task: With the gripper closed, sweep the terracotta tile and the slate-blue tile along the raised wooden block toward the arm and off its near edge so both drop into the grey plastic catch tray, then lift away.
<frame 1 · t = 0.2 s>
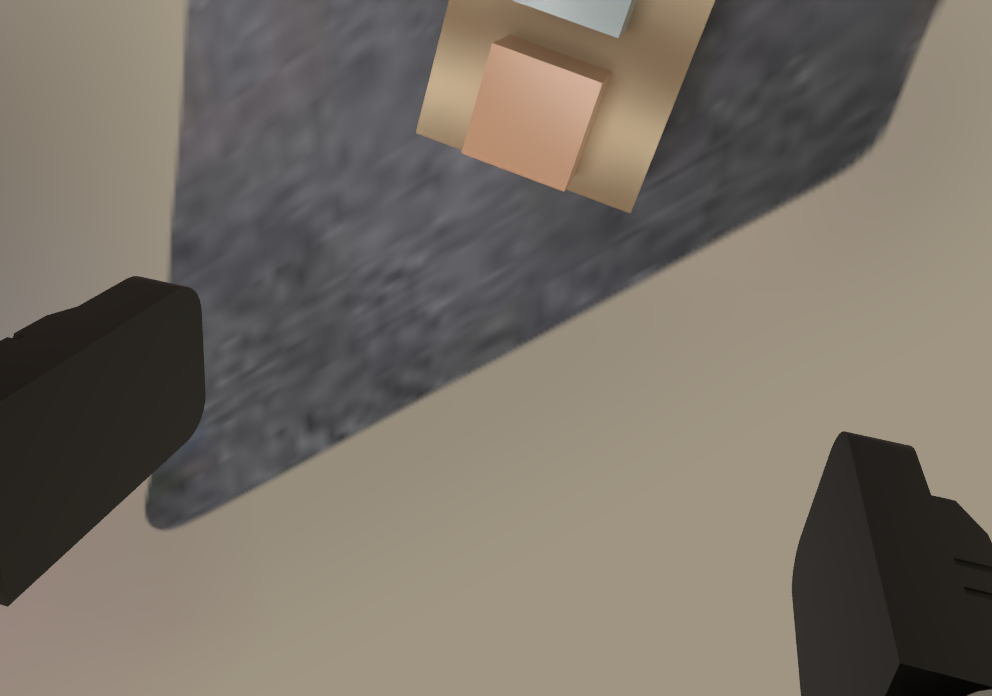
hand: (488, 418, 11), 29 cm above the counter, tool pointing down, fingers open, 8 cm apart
terracotta tile: (543, 106, 32), point 5 cm above the counter, touching wooden block
wooden block: (594, 4, 35), on the counter
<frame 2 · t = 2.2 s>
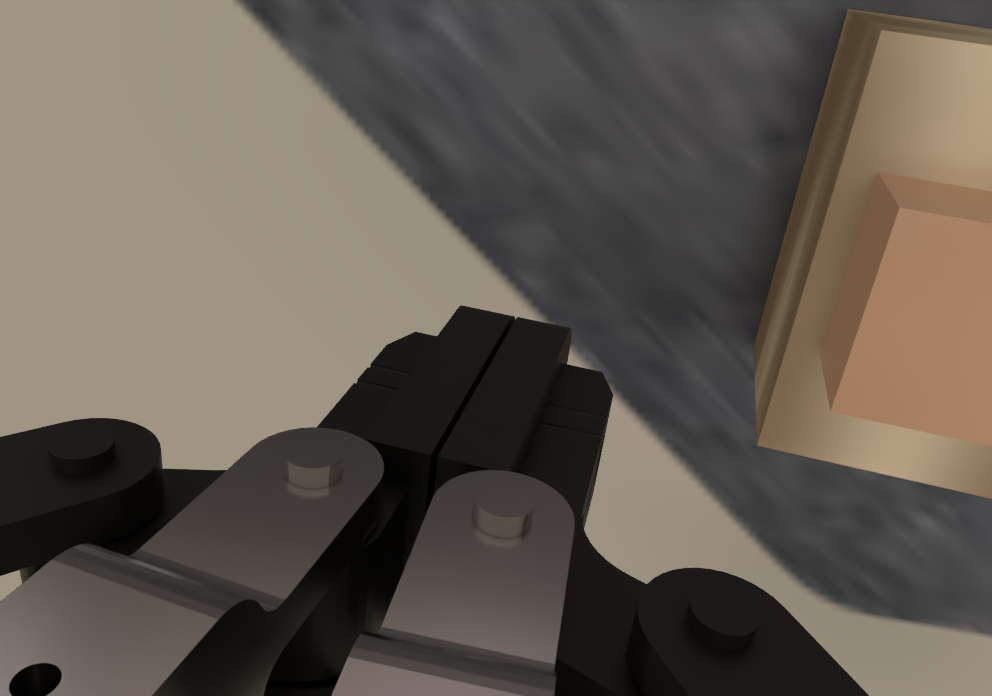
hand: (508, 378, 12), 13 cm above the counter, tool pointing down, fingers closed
terracotta tile: (951, 288, 17), point 5 cm above the counter, touching wooden block
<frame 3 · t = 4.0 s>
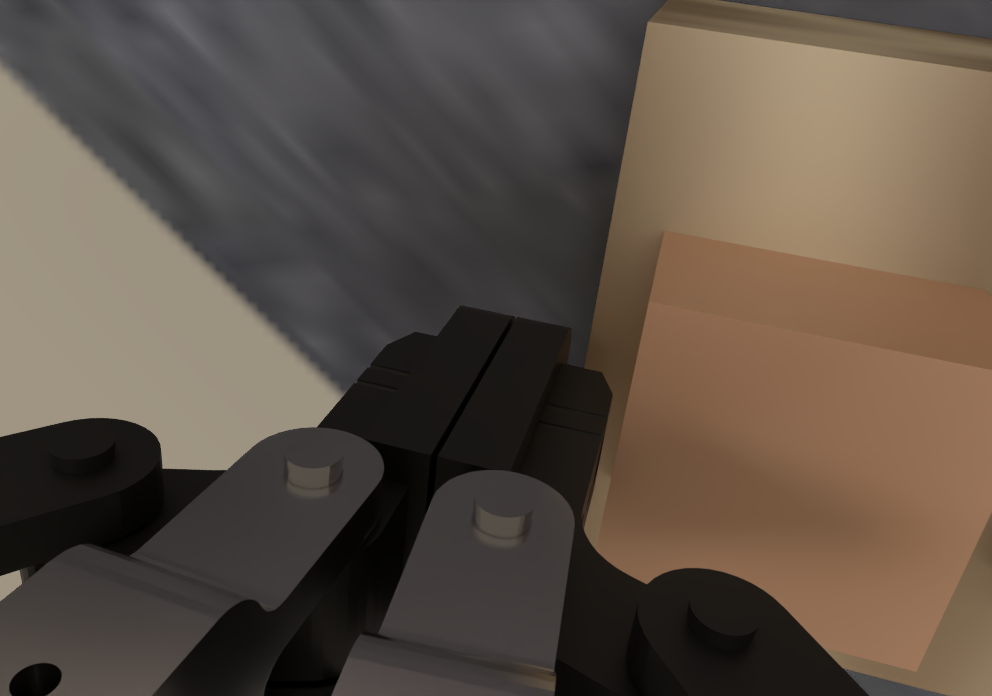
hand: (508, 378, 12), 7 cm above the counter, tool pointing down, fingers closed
terracotta tile: (779, 394, 12), point 6 cm above the counter, touching gripper
wooden block: (942, 295, 16), on the counter
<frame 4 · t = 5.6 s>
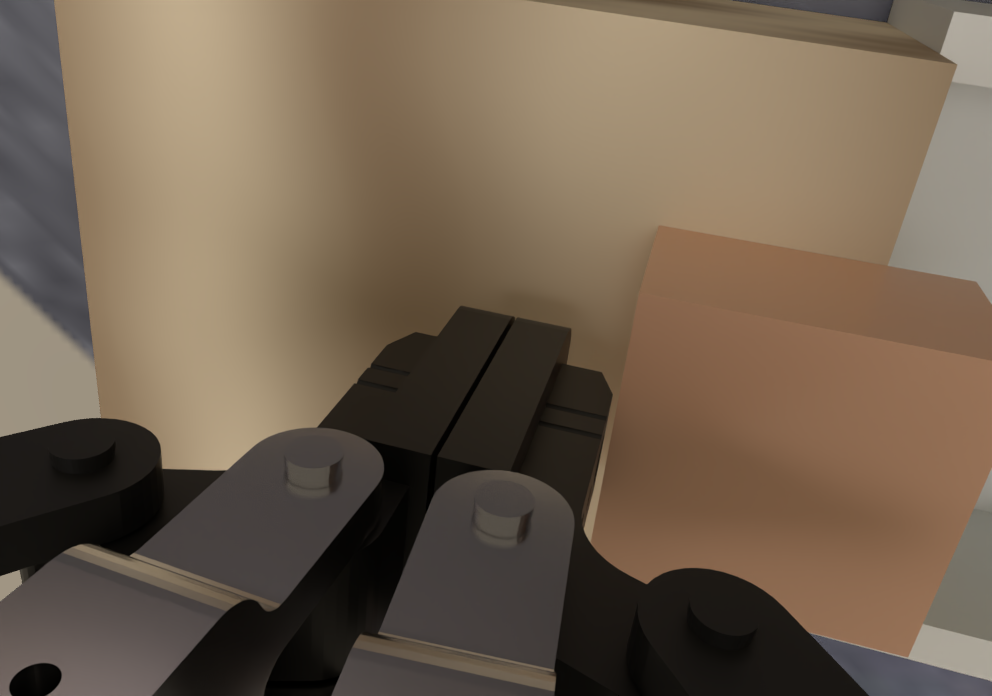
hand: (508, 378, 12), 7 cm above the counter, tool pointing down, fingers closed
terracotta tile: (774, 385, 12), point 6 cm above the counter, touching gripper
wooden block: (514, 209, 18), on the counter
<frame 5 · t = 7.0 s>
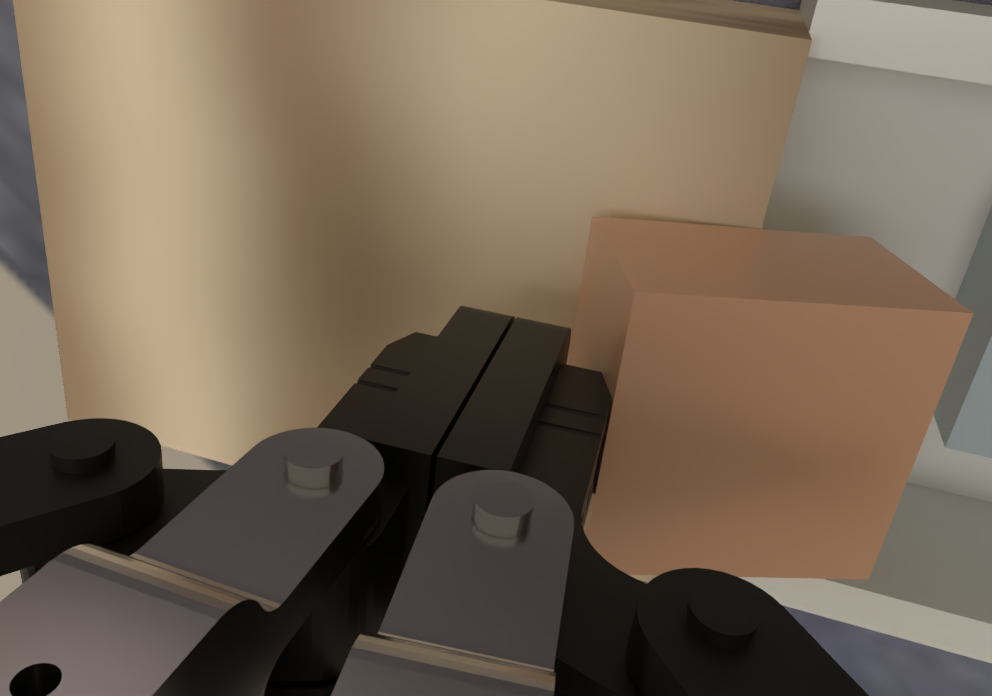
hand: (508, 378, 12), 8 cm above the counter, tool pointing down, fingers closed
terracotta tile: (703, 355, 13), point 6 cm above the counter, tilted 21°, touching wooden block, gripper
wooden block: (460, 188, 19), on the counter
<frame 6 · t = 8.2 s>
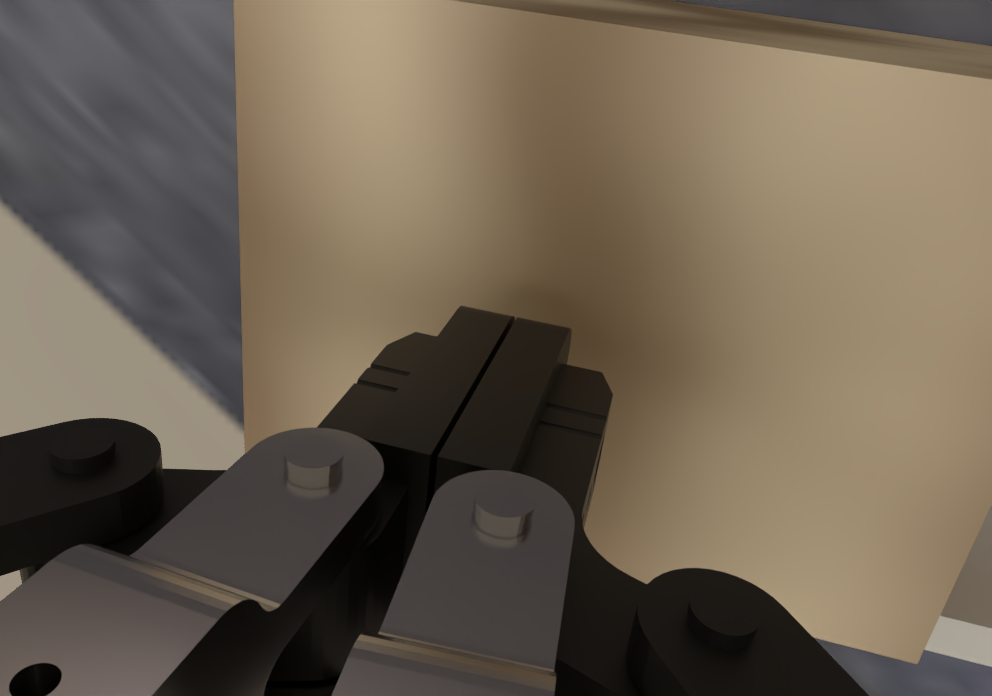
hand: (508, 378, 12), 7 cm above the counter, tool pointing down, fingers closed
wooden block: (638, 234, 18), on the counter
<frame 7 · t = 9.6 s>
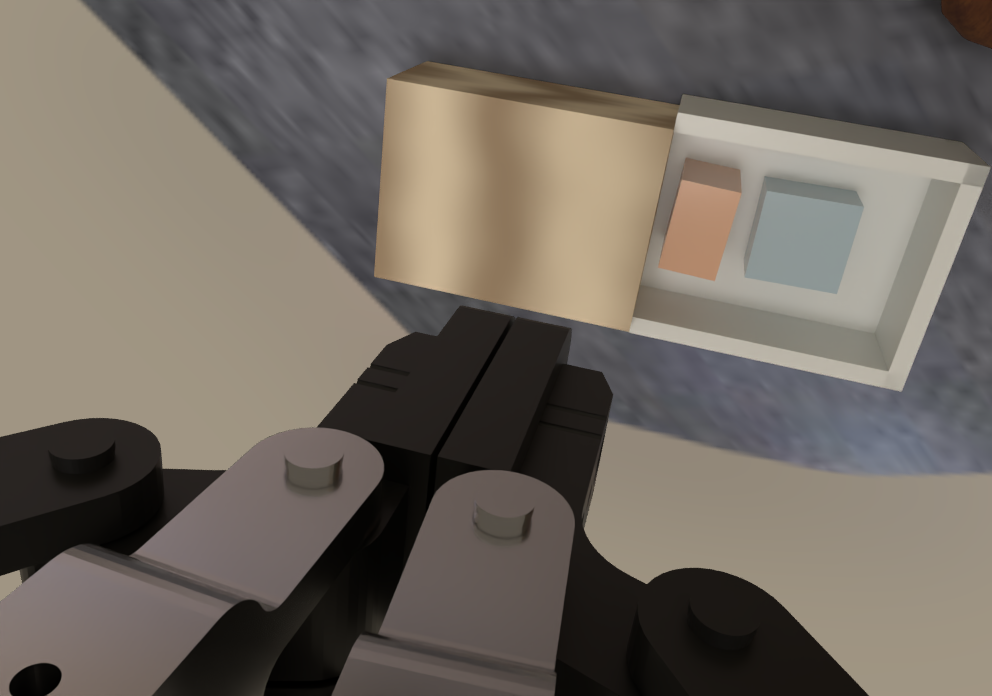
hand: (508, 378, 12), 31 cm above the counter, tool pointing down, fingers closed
catch tray: (787, 225, 40), on the counter
terracotta tile: (672, 211, 38), point 2 cm above the counter, tilted 90°, touching catch tray
wooden block: (536, 177, 42), on the counter
slate tile: (802, 243, 37), point 3 cm above the counter, tilted 180°, touching catch tray
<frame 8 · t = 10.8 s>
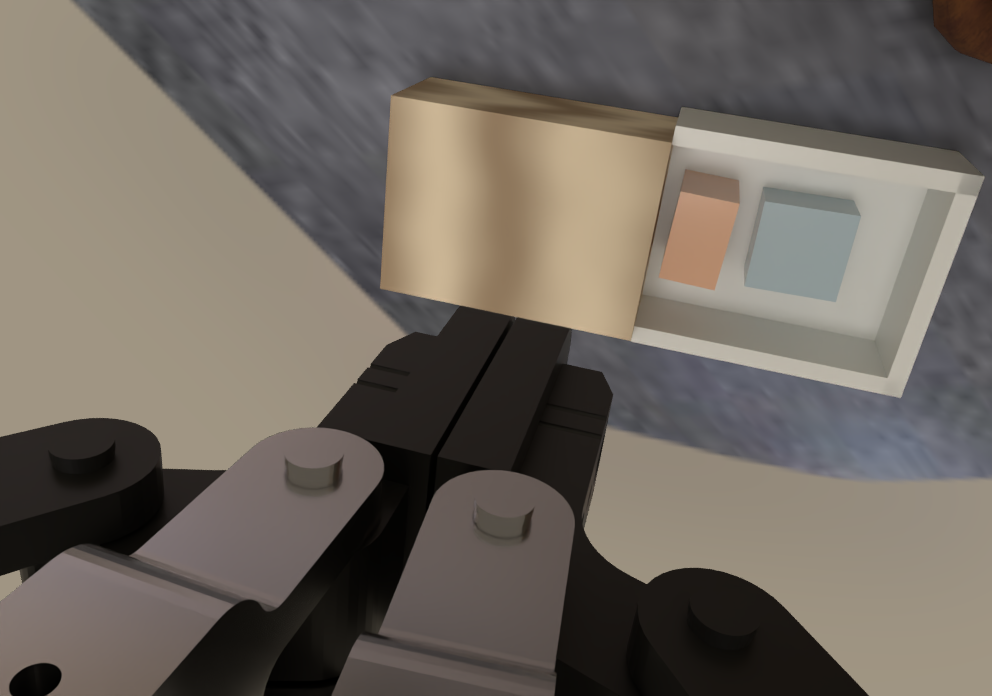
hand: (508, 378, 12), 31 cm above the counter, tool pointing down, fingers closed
catch tray: (786, 234, 41), on the counter
terracotta tile: (672, 222, 39), point 2 cm above the counter, tilted 90°, touching catch tray
wooden block: (539, 189, 43), on the counter
slate tile: (800, 252, 38), point 3 cm above the counter, tilted 180°, touching catch tray
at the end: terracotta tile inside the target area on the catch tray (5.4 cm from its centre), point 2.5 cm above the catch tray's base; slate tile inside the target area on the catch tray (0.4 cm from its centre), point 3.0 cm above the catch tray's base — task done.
